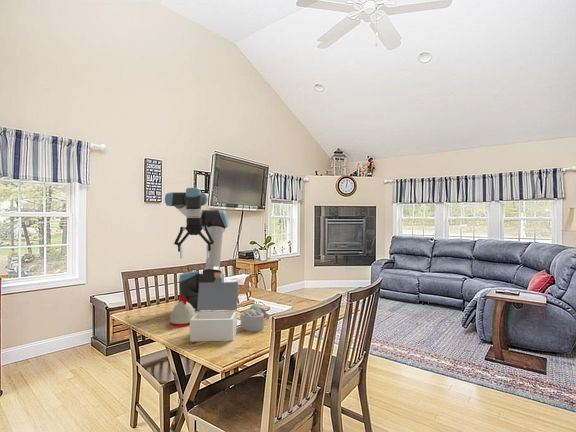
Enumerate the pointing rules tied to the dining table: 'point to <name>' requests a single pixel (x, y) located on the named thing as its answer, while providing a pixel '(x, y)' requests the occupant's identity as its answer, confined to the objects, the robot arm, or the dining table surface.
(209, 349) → the dining table surface
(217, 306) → the carton lid
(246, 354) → the dining table surface
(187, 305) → the kitchen timer
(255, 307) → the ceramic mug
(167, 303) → the dining table surface
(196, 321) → the carton
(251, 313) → the lumpy-topped squat cylinder
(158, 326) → the dining table surface
